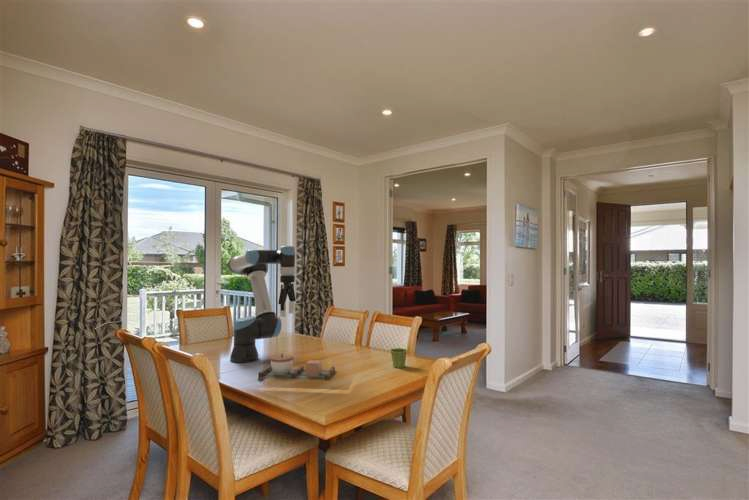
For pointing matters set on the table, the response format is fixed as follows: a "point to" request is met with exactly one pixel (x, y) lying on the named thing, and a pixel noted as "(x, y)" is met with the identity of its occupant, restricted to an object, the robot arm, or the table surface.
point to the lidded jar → (281, 364)
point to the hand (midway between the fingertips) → (287, 315)
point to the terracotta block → (313, 368)
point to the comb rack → (294, 374)
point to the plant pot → (398, 357)
